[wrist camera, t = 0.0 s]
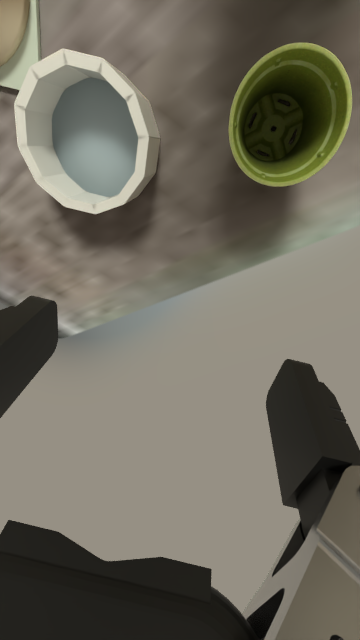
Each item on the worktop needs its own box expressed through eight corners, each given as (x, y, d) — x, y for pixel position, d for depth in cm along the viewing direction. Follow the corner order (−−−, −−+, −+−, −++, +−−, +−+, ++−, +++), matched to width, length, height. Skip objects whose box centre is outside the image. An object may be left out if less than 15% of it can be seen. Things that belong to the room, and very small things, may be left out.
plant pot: (214, 162, 32) (212, 166, 25) (248, 55, 28) (258, 21, 20) (291, 189, 33) (311, 201, 26) (338, 89, 28) (380, 68, 21)
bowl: (45, 54, 29) (8, 34, 24) (168, 84, 29) (157, 71, 24) (50, 189, 36) (21, 196, 31) (149, 214, 36) (138, 224, 31)
